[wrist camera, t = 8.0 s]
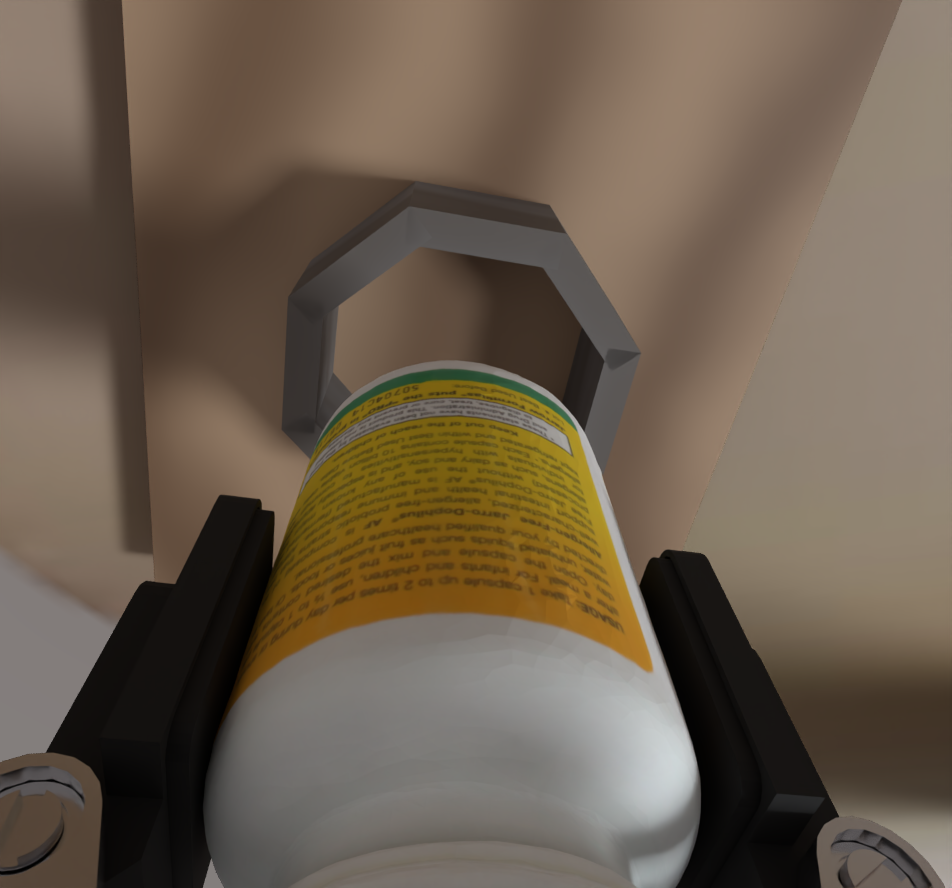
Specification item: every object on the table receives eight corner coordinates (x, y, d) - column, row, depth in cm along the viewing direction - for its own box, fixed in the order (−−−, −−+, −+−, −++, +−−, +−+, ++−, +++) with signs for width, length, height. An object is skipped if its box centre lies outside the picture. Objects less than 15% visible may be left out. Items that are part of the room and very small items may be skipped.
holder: (872, -9, 17) (995, -22, 13) (636, 610, 27) (668, 708, 23) (139, -174, 15) (32, -246, 11) (170, 556, 25) (118, 652, 21)
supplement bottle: (634, 522, 14) (894, 1205, 6) (404, 622, 15) (354, 1313, 7) (514, 293, 12) (672, 911, 4) (250, 431, 13) (-100, 1146, 5)
